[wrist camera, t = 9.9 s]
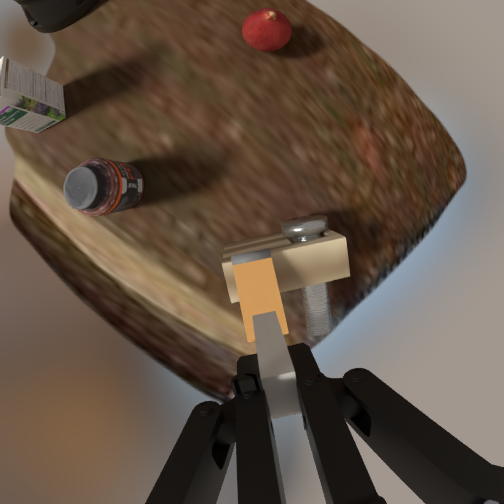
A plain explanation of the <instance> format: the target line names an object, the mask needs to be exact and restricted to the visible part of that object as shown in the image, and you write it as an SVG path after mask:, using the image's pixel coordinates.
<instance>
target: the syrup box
mask: <svg viewBox="0 0 504 504" xmlns="http://www.w3.org/2000/svg"><path fill="white" fill-rule="evenodd" d="M65 118H66V115H65V105H64V94H63V86H62V85H60V84H58V83H56V82H55V81H53V80H51V79H49V78H47V77H45V76H43V75H41V74H39V73H37V72H35V71H33V70H31V69H29V68H27V67H25V66H23V65H21V64H19V63H17V62H15V61H13V60H11V59H9V58H7V57H5V56H3V57H2V58H1V59H0V125H3V126H8V127H13V128H17V129H22V130H27V131H31V132H36V133H39V132H41V131H43V130H44V129H46V128H48V127H50V126H52V125H54V124H56V123H57V122H59V121H61V120H63V119H65Z"/></svg>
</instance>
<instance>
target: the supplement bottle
mask: <svg viewBox="0 0 504 504" xmlns="http://www.w3.org/2000/svg"><path fill="white" fill-rule="evenodd" d="M143 189H144V182H143V178H142V175H141V173H140V172H139V171H138V169H137V168H135V167H134V166H132V165H130V164H128V163H123V162H117V161H112V160H107V159H101V158H93V159H89V160H87V161H85V162H83V163H82V164H81V165H80V166H79V167H76V168H74V169H73V170H72V171H70V173H69V174H68V175H67V177H66V179H65V183H64V196H65V199H66V201H67V203H68V204H69V205H70V206H71V207H72V208H75V209H77V210H78V211H79V212H81V213H82V214H84V215H87V216H92V217H95V216H102V215H106V214H110V213H115V212H119V211H123V210H127V209H130V208H131V207H133V206H134V205H136V204H137V202H138V201H139V200H140V198H141V196H142V194H143Z"/></svg>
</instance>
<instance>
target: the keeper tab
mask: <svg viewBox="0 0 504 504" xmlns="http://www.w3.org/2000/svg"><path fill="white" fill-rule="evenodd" d="M231 261H232V265H233V271H234V276H235V281H236V286H237V291H238V296H239V301H240V306H241V311H242V316H243V321H244V325H245V330H246V335H247V340H248V342H251V341H255V334H254V326H253V319H252V316H253V315H258V314H263V313H268V312H272V311H276V314H277V317H278V320H279V323H280V327H281V330H282V333H283V335H284V334H289V333H288V328H287V323H286V319H285V314H284V310H283V305H282V301H281V297H280V292H279V288H278V283H277V279H276V275H275V270H274V266H273V262H272V257H271V252H270V249H269V248H267V249H262V250H257V251H252V252H248V253H243V254H238V255H233V256H231Z"/></svg>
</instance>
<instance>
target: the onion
mask: <svg viewBox="0 0 504 504" xmlns="http://www.w3.org/2000/svg"><path fill="white" fill-rule="evenodd" d="M242 33H243V37H244V39H245V41H246V42H247V43H248V45H250V46H251V47H253V48H255V49H256V50H260V51H264V52H269V51H275V50H278V49H280V48H282V47H283V46H284V45H285V44H286V43H287V42H288V41H289V39H290V37H291V34H292V29H291V24H290V21H289V20H288V19H287V17H286V16H285V15H284V14H283V13H281V12H280V11H278V10H275V9H272V8H262V9H259V10H256V11H253V12H252V13H251V14H250V15H249V16H248V17H247V18H246V19H245V20H244V23H243V26H242Z"/></svg>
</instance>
